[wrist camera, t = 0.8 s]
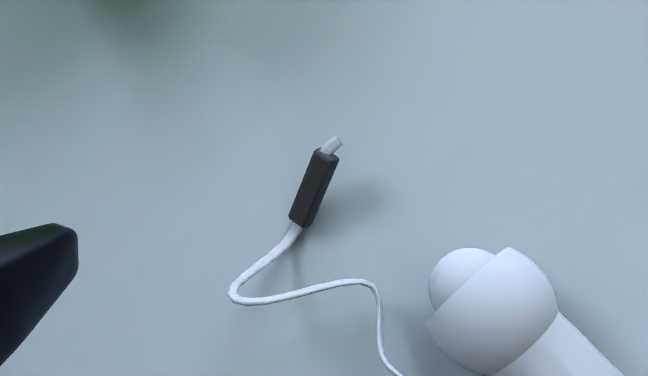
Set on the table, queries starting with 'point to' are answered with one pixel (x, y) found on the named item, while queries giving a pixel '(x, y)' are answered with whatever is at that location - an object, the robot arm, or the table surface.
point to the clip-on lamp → (462, 301)
